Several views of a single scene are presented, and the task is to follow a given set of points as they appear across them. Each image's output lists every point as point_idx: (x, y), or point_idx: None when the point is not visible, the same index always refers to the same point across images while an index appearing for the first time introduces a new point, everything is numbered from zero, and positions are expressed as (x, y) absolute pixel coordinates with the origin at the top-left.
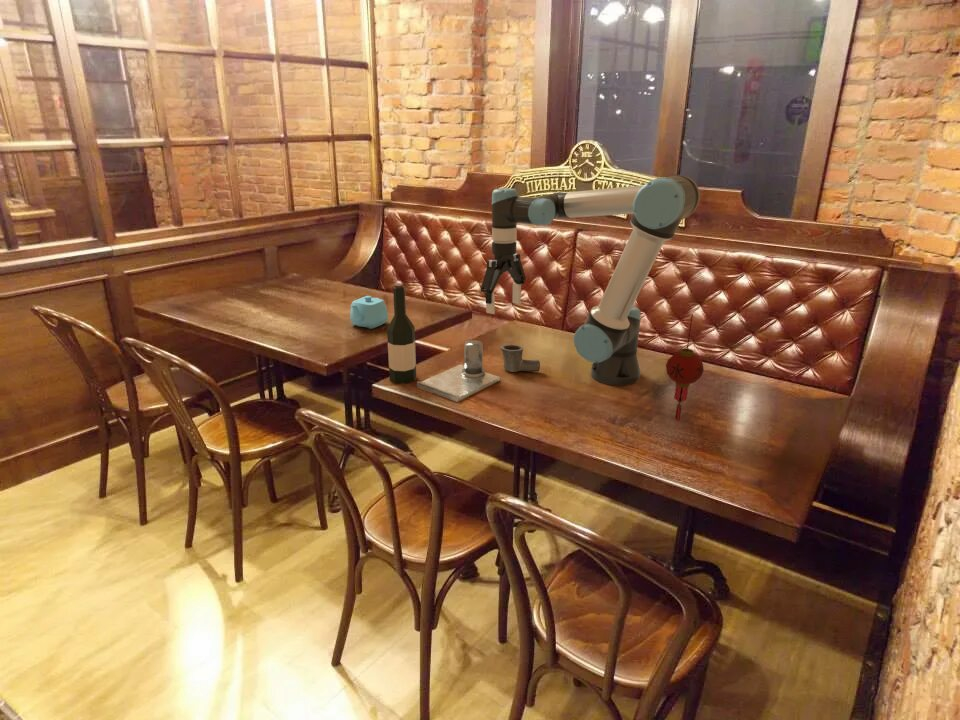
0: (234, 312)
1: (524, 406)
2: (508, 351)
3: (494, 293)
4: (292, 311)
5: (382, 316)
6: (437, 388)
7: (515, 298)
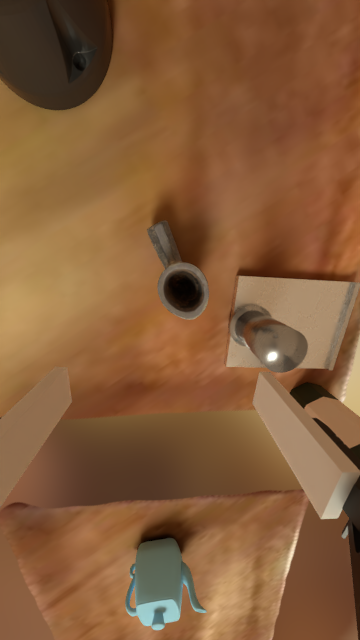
0: (226, 637)
1: (320, 160)
2: (207, 286)
3: (343, 469)
4: (184, 616)
5: (154, 559)
6: (343, 329)
7: (55, 406)
